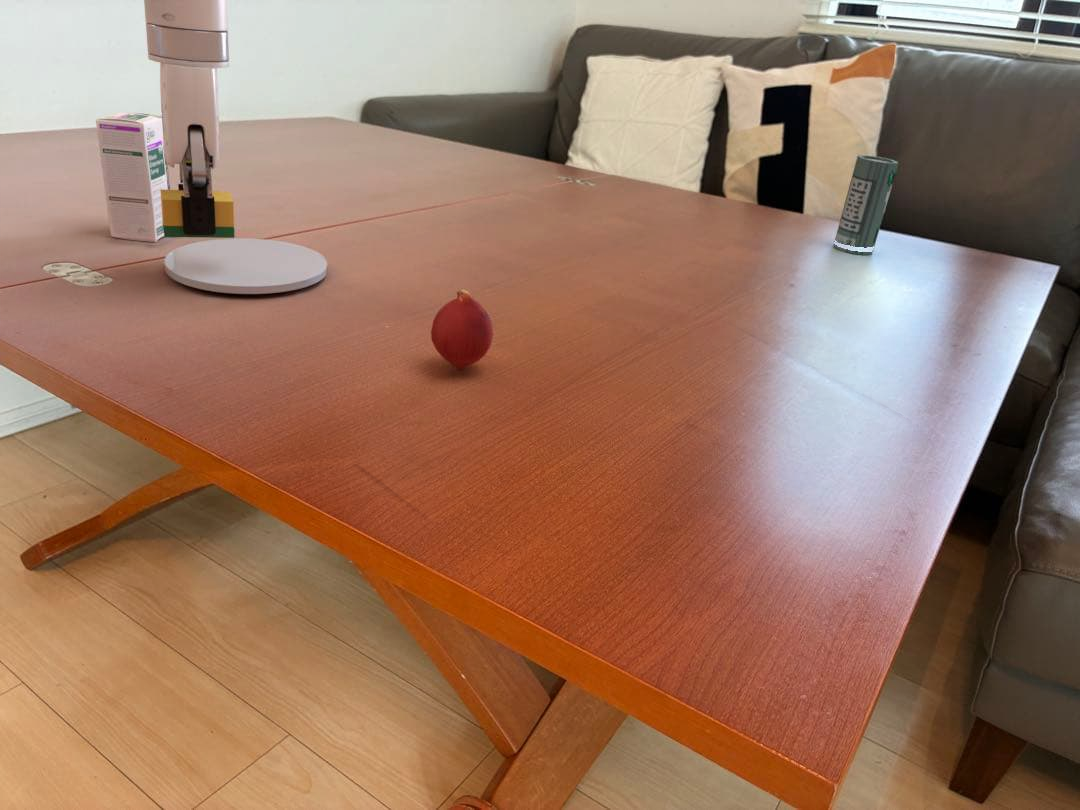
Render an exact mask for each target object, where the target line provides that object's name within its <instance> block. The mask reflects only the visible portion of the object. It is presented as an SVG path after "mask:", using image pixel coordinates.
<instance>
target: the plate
mask: <svg viewBox="0 0 1080 810" xmlns="http://www.w3.org/2000/svg"><path fill="white" fill-rule="evenodd" d="M163 265H164V270H165V273H166V274H167V276H168V277H170V278H171V279H172V280H173V281H175V282H178V283H179V284H182V285H184V286H186V287H187V286H188V287H191V288H195V289H198V290H204V291H207V292H208V291H209V292H216V293H223V294H235V295H262V294H276V293H284V292H291V291H296V290H300V289H303V288H304V289H305V288H307V287H309V286H312V285H315V284H317V283H319V282H320V281H322V280H323V279H324V278H325V277H326V276H327V274H328V261H327V259H326V258H325V256H324V255H323V254H321V253H320V252H319V251H316V250H314V249H311V248H309V247H307V246H304V245H300V244H297V243H291V242H287V241H282V240H275V239H267V238H264V239H263V238H247V237H245V238H243V237H242V238H241V237H240V238H237V237H236V238H235V237H234V238H217V239H210V240H202V241H196V242H192V243H189V244H185V245H182V246H180V247H177V248H175V249H173V250H171V251H170V252H169V253H167V254H166V256H165V257H164V260H163Z"/></svg>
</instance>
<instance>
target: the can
mask: <svg viewBox="0 0 1080 810" xmlns="http://www.w3.org/2000/svg"><path fill="white" fill-rule="evenodd" d="M899 164H900V163H899V161H897V160H894V159H891V158H887V157H881V156H876V155H875V156H874V155H868V154H865V155H864V154H860V155H857V156H856V160H855V164H854V169H853V171H852V175H851V178H850V182H849V186H848V190H847V193H846V198H845V200H844V205H843V208H842V212H841V216H840V220H839V222H838V223H839V224H838V227H837V230H836V235H835V237H834V238H835V239H834V241H835V240H836V241H837V242H838V243H841V244H844V245H850V246H853V247H854V246H855V247H864V248H867V247H873V246H874V247H875V246H876V242H877V239H878V236H879V231H880V229H881V226H882V222H883V218H884V215H885V212H886V208H887V204H888V201H889V198H890V195H891V191H892V188H893V185H894V181H895V177H896V173H897V170H898V167H899ZM833 248H835V249H836V250H838V251H841V252H843V253H848V254H853V255H858V256H860V255H861V256H871V255H872V254H873V253H874V250H873V251H872V252H873V253H872V252H858V251H851V250H848V249H844V248H841V247H838V246H837V245H835V244H834V243H833Z"/></svg>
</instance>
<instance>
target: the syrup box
mask: <svg viewBox="0 0 1080 810" xmlns="http://www.w3.org/2000/svg"><path fill="white" fill-rule="evenodd" d="M95 124H96V132H97V139H98V145H99V146H98V148H99V155H100V163H101V170H102V171H101V172H102V177H103V178H102V179H103V185H104V192H105V193H104V195H105V200H106V208H107V216H108V223H109V230H110V236H111V237H112V238H116V239H122V240H129V241H130V240H131V241H139V242H151V243H156V242H158V241H159V240H160V239H162V238H163V237H165V236H164V230H163V221H162V206H161V191H160V190H171V183H170V173H169V165H168V164H167V162H166V158H165V153H164V140H163V125H162V116H160V115H159V116H158V115H155V114H150V113H141V112H120V111H118V112H116V113H114V114H110V115H107V116H104V117H98V118H97V119H96V120H95Z"/></svg>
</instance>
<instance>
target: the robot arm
mask: <svg viewBox="0 0 1080 810" xmlns="http://www.w3.org/2000/svg"><path fill="white" fill-rule="evenodd" d="M143 3H144V18H145V30H146V31H145V33H146V45H147V46H146V47H147V59H148V60H150V61H153V62H156V63H159V89H160V90H159V92H160V107H161V108H160V109H161V110H160V111H161V117H162V125H163V140H164V153H165V158H166V162H167V164H168V167H170V168H175V165H178V167H179V168H178V169H179V182H180V183H178V184H177V187H178V189H177V190H183V191H184V196H181V203H182V220H183V232H184V233H185V234H186V235H214V234H215V233H216V225H215V202H214V197H212V191H213V181H212V179H213V178H212V170H214V169H215V168H217V167H218V166H219V153H220V151H219V150H220V148H219V147H220V140H219V139H220V123H219V122H220V119H219V115H220V114H219V113H220V112H219V84H218V83H219V82H218V69H223V68H228V67H230V51H229V47H230V46H229V21H228V20H229V19H228V0H143Z"/></svg>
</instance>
